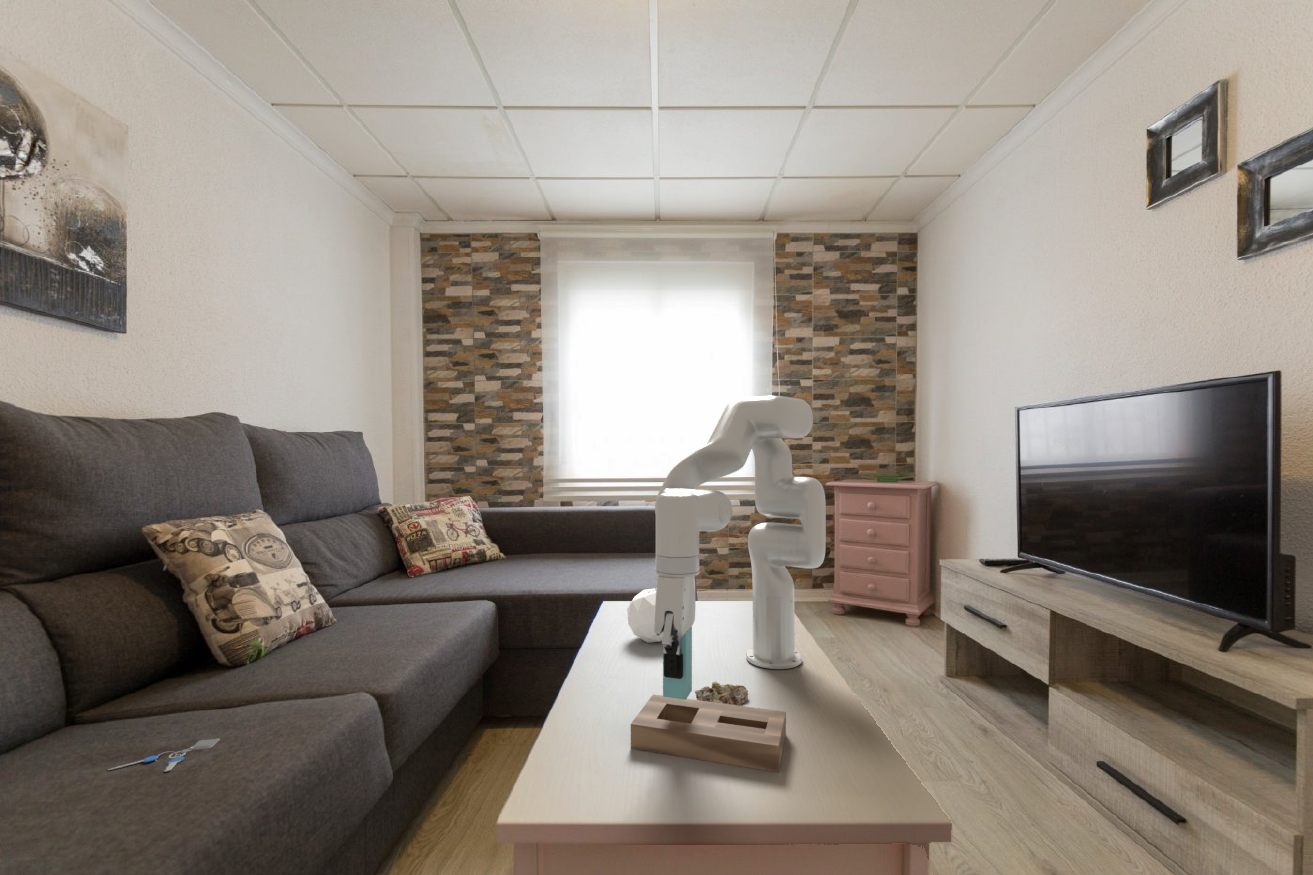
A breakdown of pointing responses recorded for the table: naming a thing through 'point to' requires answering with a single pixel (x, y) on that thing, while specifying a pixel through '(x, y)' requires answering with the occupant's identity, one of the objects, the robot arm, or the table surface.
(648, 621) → the geodesic sphere
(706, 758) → the bore board
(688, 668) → the square peg
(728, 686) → the mineral rock
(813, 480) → the robot arm
